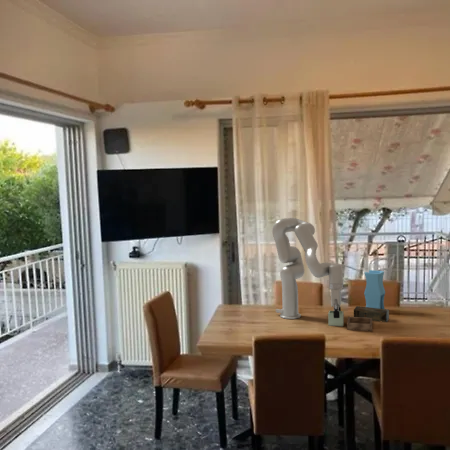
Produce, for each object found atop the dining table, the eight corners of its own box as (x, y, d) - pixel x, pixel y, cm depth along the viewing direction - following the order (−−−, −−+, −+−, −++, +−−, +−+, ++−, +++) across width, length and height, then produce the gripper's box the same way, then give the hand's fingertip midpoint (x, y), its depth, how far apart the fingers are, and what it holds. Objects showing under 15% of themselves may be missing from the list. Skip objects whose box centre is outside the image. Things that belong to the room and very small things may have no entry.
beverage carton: (387, 322, 258) (387, 311, 258) (353, 319, 267) (352, 308, 267) (389, 319, 265) (389, 308, 265) (356, 316, 274) (355, 305, 274)
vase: (369, 308, 290) (369, 270, 288) (385, 310, 284) (385, 271, 282) (364, 312, 282) (364, 272, 280) (380, 314, 276) (380, 273, 274)
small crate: (328, 325, 255) (328, 313, 255) (329, 322, 262) (329, 310, 261) (343, 326, 253) (342, 314, 252) (343, 323, 259) (343, 311, 259)
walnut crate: (347, 329, 247) (347, 323, 246) (348, 322, 260) (348, 316, 260) (372, 331, 243) (372, 324, 242) (372, 324, 256) (372, 318, 256)
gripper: (330, 283, 265) (331, 311, 266) (327, 288, 249) (329, 319, 249) (343, 283, 263) (345, 312, 263) (341, 288, 246) (343, 319, 247)
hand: (337, 315), depth 256 cm, fingers open, 9 cm apart
